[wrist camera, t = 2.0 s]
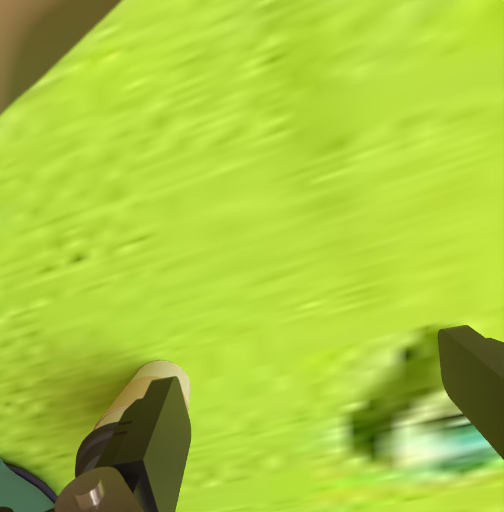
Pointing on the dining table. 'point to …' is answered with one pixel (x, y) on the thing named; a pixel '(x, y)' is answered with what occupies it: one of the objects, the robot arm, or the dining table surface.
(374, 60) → the dining table surface
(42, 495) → the cutlery set
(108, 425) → the coffee cup
